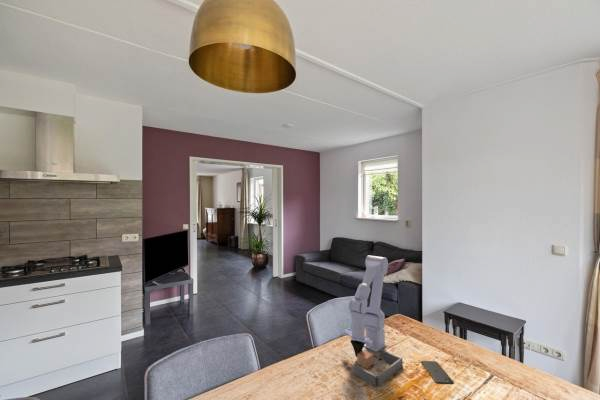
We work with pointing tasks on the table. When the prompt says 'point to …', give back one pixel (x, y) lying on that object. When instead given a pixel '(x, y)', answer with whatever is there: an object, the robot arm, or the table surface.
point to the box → (384, 374)
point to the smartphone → (437, 372)
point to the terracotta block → (365, 358)
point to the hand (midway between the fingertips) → (358, 356)
